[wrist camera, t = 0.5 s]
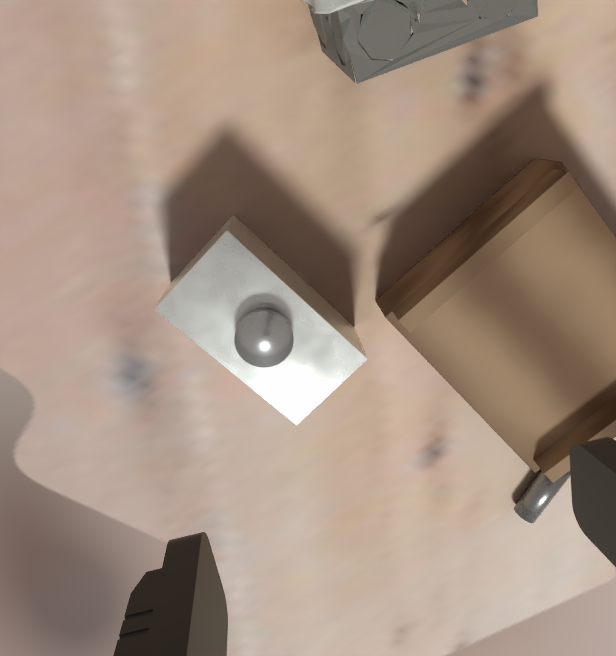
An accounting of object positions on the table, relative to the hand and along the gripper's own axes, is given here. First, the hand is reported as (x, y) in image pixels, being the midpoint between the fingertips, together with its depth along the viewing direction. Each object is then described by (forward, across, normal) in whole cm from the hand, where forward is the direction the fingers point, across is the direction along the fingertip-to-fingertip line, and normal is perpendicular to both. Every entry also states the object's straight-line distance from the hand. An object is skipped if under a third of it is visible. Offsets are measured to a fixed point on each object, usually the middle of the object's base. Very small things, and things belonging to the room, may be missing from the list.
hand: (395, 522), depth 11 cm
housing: (+22, +2, 0) cm, 22 cm away
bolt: (+22, -15, +16) cm, 31 cm away
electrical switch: (+20, -8, -15) cm, 26 cm away
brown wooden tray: (+21, -14, +4) cm, 26 cm away
